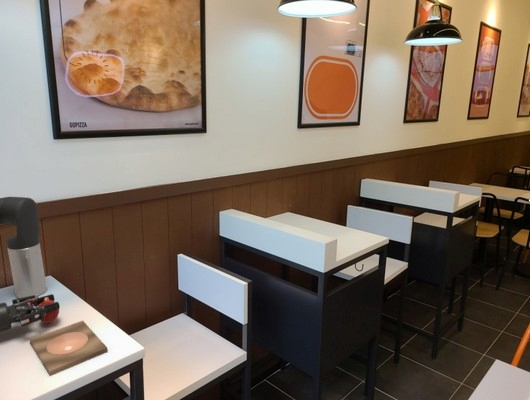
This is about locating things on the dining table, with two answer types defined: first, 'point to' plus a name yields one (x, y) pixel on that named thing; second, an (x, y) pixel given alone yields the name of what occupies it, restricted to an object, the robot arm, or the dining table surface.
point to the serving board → (67, 347)
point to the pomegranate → (51, 315)
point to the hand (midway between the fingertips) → (56, 301)
